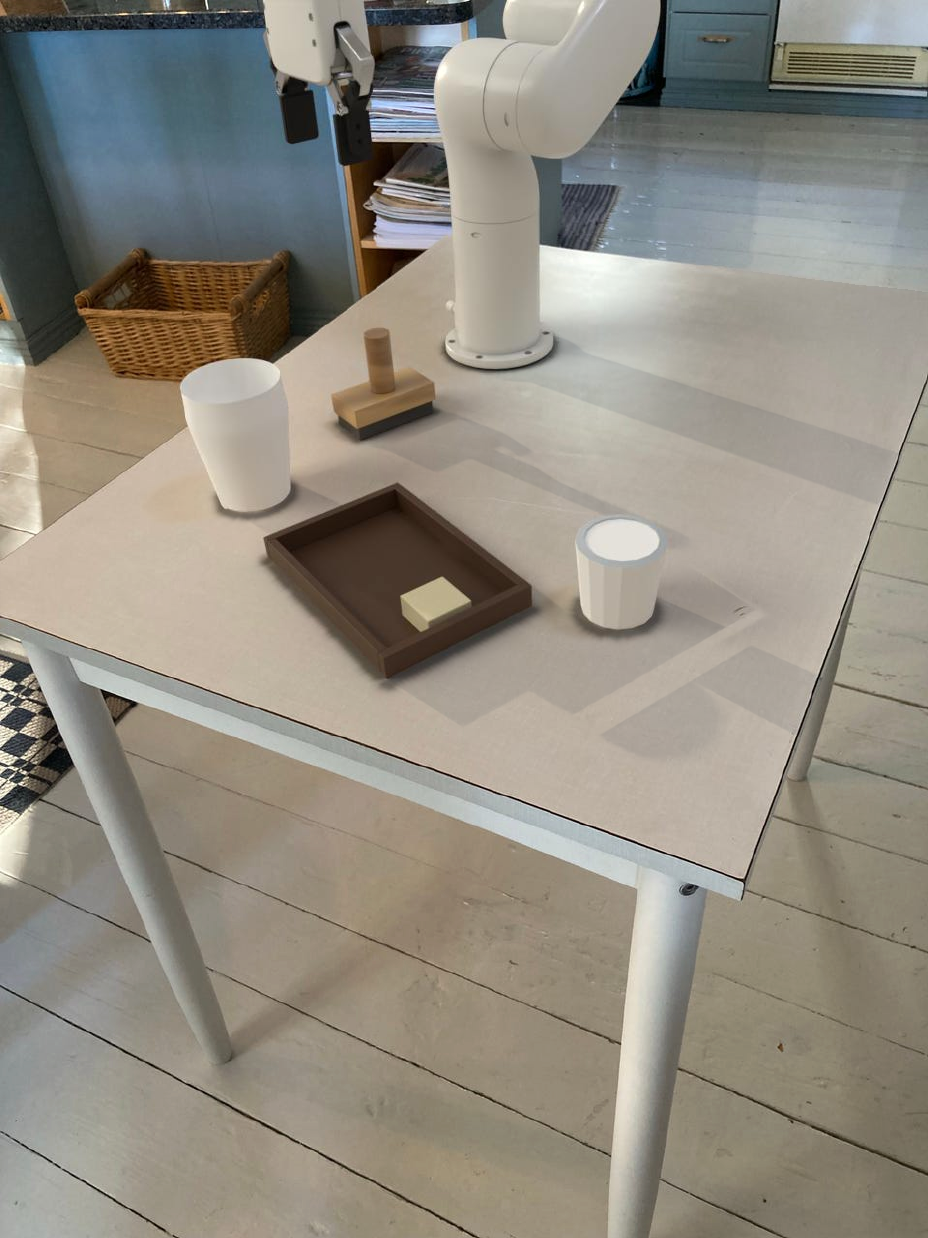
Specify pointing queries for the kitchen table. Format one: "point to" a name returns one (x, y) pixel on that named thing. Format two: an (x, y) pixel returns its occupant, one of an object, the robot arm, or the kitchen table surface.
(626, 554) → the white tapered tub
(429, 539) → the tray
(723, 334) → the kitchen table surface
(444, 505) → the kitchen table surface
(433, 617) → the sponge chip
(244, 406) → the cup
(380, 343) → the brush
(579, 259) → the kitchen table surface
